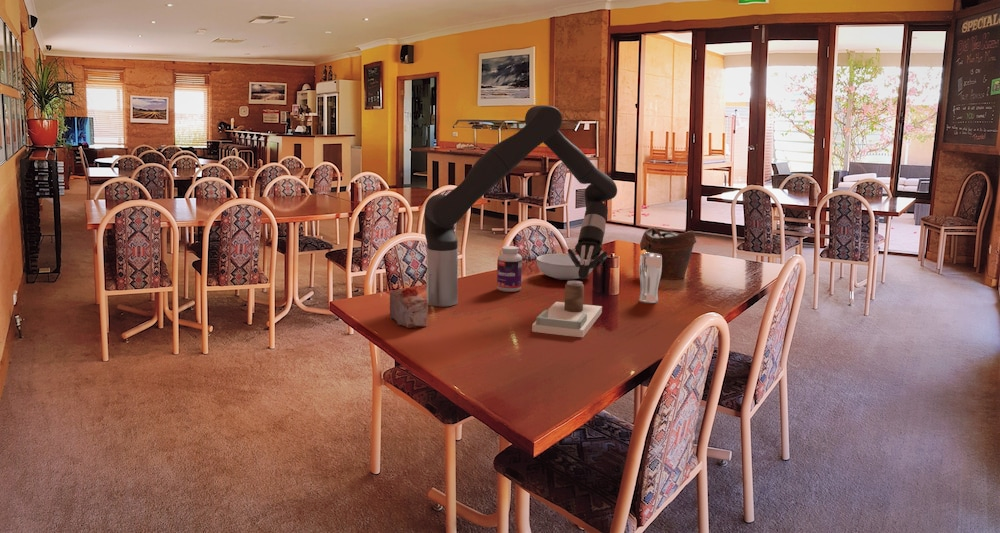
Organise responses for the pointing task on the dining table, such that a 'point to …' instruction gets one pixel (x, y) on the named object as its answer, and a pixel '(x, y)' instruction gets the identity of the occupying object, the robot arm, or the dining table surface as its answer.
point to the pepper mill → (574, 296)
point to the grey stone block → (408, 308)
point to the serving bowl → (559, 266)
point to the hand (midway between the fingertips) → (582, 277)
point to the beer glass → (650, 276)
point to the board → (566, 320)
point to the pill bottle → (509, 269)
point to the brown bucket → (670, 250)
